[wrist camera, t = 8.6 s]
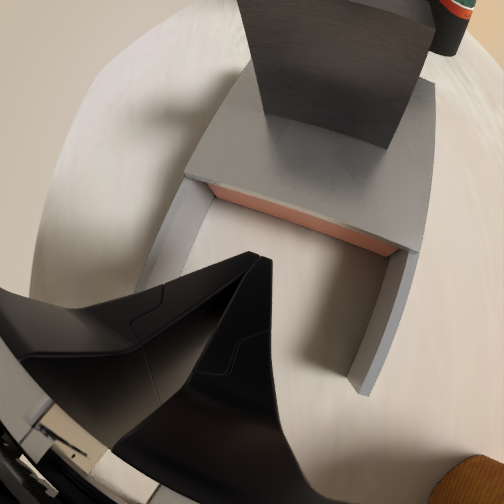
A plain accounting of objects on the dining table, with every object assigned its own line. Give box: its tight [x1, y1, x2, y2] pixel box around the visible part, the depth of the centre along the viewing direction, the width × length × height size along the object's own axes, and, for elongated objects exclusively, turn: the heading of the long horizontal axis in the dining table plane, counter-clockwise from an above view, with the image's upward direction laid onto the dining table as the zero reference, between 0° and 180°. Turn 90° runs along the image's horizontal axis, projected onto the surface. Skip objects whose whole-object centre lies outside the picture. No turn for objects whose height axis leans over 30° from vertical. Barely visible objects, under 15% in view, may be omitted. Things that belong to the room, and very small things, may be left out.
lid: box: [183, 0, 436, 255], centre depth 10 cm, size 13×13×9 cm
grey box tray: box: [134, 105, 436, 397], centre depth 15 cm, size 19×13×4 cm
